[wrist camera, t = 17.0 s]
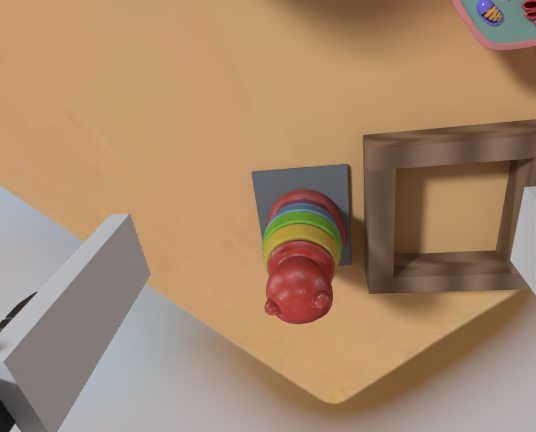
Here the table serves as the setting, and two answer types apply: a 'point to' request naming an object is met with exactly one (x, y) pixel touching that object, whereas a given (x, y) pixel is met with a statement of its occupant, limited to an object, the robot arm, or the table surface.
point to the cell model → (499, 22)
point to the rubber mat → (312, 178)
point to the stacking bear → (302, 255)
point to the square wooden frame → (435, 154)
